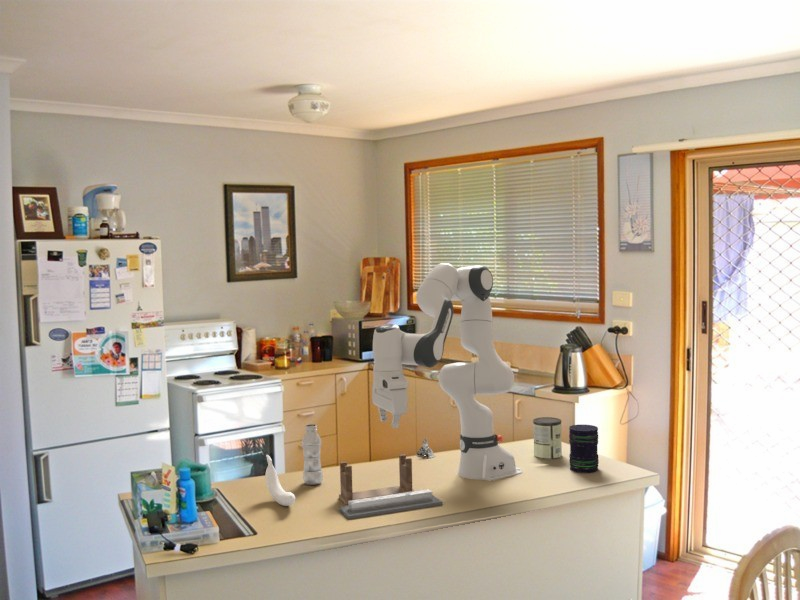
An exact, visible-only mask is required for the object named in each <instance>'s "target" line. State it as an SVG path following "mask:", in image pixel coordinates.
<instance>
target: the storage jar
mask: <svg viewBox="0 0 800 600" xmlns="http://www.w3.org/2000/svg"><path fill="white" fill-rule="evenodd" d="M568 429H569V434H568V439H569V441H568V442H569V449H570V450H569V455H568V456H569V459H568V460H569V470H570V471H571V472H574V473H580V474H592V473H596V472H598V471H599V454H598V444H599V427H598V426H596V425H592V424H573V425H570V426H569V428H568Z"/></svg>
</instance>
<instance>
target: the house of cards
mask: <svg viewBox="0 0 800 600" xmlns="http://www.w3.org/2000/svg"><path fill="white" fill-rule="evenodd" d="M428 443H429V441H428V439H427V438H423V440H422V446H420V448H419V450H417V452H416V454H415V456H417V457H421V458H425V459H432V458H434V457H436V455H435V454H434V451H433V450H432V448H430V447H429V444H428ZM424 455H426V456H424Z"/></svg>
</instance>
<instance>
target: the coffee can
mask: <svg viewBox="0 0 800 600" xmlns="http://www.w3.org/2000/svg"><path fill="white" fill-rule="evenodd" d="M532 423H533V456H534V458H537V459H540V460H541V459H542V460H549V461H550V460H557V459H561V458H562V457H563V455H562V454H563V453H562V451H563V450H562V419H560V418H558V417H554V416H553V417H549V416H543V417H535V418H533V420H532Z"/></svg>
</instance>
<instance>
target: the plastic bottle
mask: <svg viewBox="0 0 800 600" xmlns="http://www.w3.org/2000/svg"><path fill="white" fill-rule="evenodd" d="M304 431H305V434H304V435H303V436H302V439H301V447H302V451H303V472H302V481H303V483H304V484H305V485H308V486H316V485H320V484H322V482H323V479H324V478H323V476H324V475H323V470H322V464H321V448H322V439H321V436H320V435H319V434H318V432H317V431H318V427H317V424H313V423H310V424H306V425H305V430H304Z"/></svg>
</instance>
